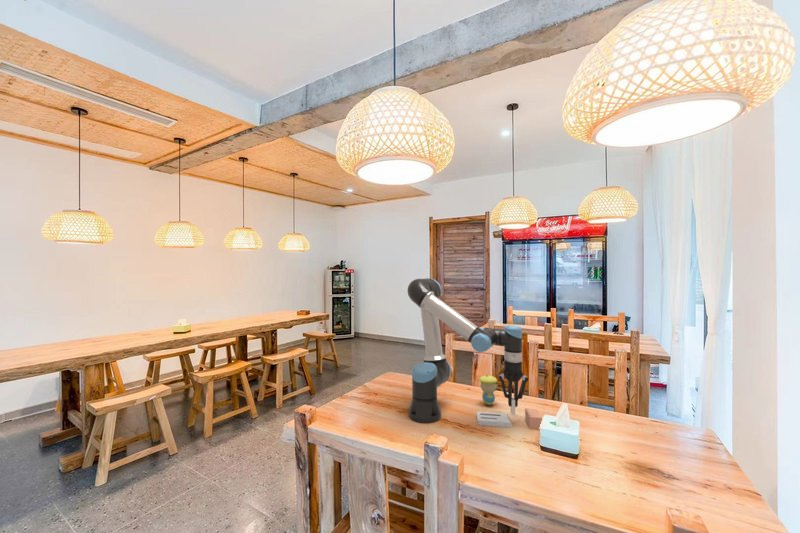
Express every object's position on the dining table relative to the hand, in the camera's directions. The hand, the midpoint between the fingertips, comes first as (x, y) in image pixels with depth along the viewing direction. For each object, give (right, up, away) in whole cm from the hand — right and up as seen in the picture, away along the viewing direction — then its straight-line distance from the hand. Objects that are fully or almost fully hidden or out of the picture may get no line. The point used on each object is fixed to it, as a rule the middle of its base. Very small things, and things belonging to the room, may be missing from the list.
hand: (512, 413), depth 142 cm
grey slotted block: (-8, -4, +1) cm, 10 cm away
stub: (+8, -4, -2) cm, 10 cm away
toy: (-5, -5, +20) cm, 21 cm away
